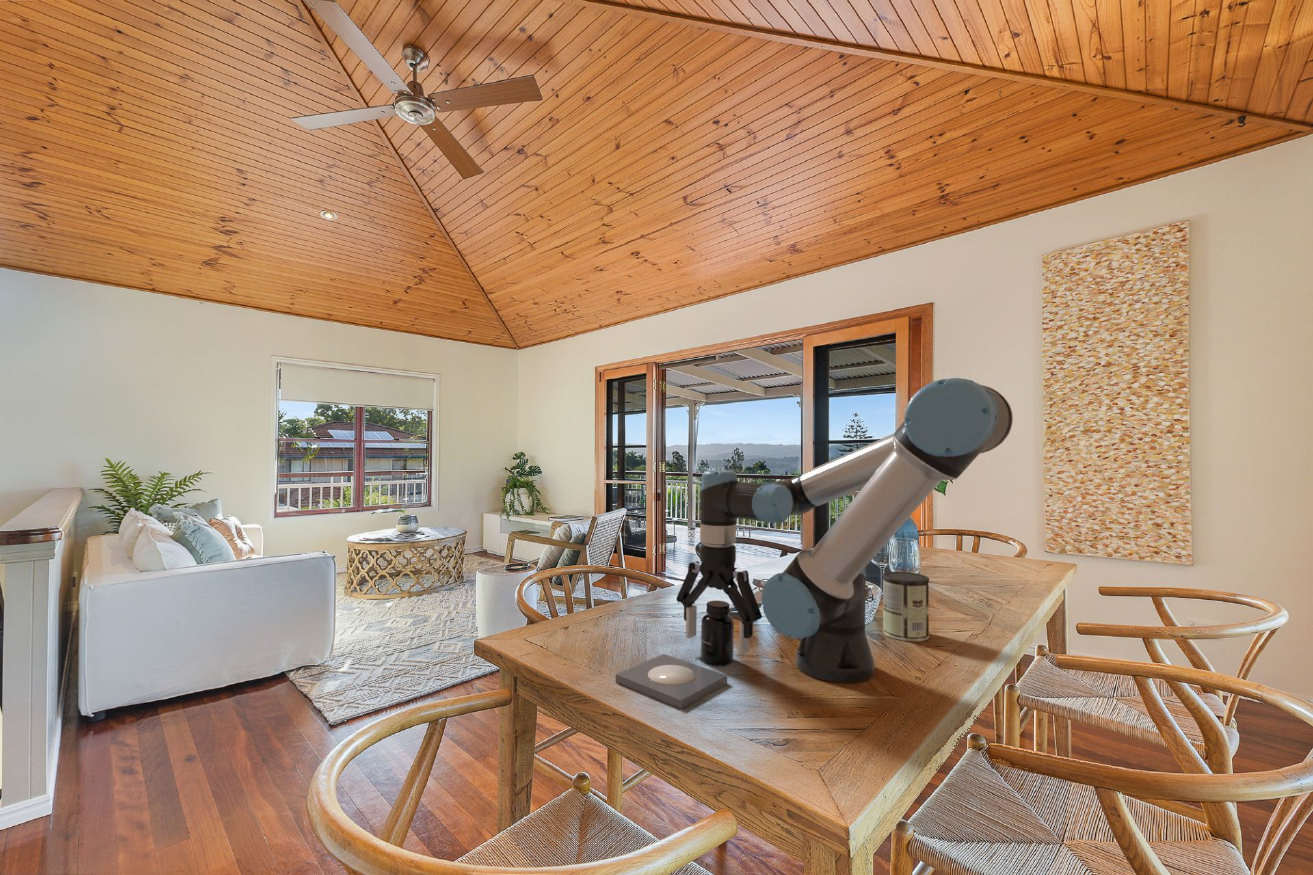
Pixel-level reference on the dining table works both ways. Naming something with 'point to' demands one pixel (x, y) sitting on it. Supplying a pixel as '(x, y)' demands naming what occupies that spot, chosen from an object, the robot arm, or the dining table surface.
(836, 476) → the robot arm
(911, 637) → the coffee can
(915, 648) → the dining table surface
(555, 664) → the dining table surface
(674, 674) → the board
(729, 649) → the supplement bottle
